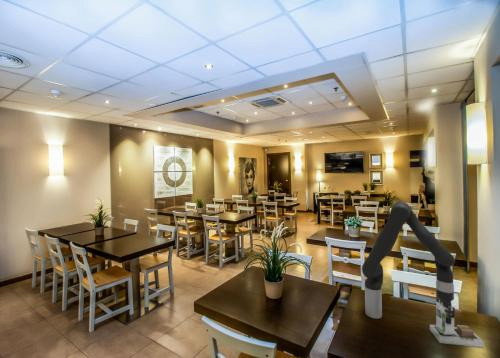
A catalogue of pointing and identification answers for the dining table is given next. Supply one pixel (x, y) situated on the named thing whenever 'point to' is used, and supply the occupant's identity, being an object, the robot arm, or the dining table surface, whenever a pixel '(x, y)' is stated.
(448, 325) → the syrup box
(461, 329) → the walnut block
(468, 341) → the white compartment tray
